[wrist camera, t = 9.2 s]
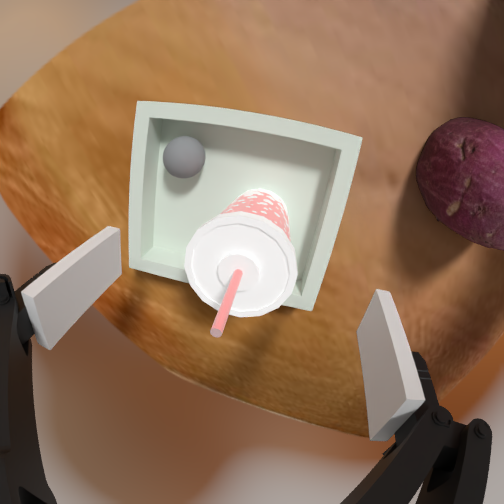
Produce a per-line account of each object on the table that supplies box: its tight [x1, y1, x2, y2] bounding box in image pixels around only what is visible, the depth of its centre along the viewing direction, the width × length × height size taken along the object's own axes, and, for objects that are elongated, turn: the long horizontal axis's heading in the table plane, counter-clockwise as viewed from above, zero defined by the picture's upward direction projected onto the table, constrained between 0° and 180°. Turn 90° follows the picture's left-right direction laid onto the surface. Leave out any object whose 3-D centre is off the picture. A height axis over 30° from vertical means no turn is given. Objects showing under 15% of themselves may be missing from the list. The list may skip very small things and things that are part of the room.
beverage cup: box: [184, 188, 298, 337], centre depth 18 cm, size 6×6×14 cm
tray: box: [129, 101, 362, 311], centre depth 23 cm, size 16×14×4 cm
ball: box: [163, 136, 206, 178], centre depth 21 cm, size 3×3×3 cm
